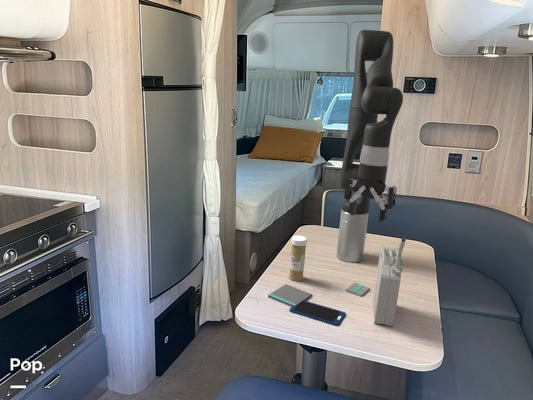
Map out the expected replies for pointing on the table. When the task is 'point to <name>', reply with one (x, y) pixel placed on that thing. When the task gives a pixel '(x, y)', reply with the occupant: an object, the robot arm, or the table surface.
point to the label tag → (357, 289)
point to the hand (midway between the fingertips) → (366, 218)
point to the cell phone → (319, 312)
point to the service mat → (289, 295)
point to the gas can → (388, 284)
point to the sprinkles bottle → (297, 258)
